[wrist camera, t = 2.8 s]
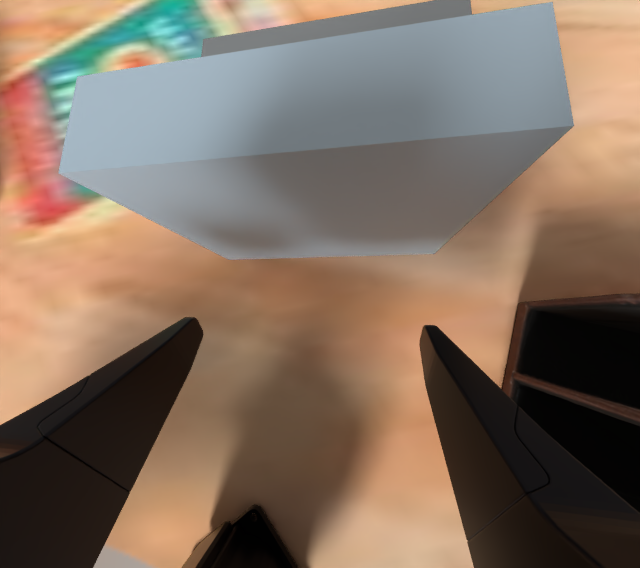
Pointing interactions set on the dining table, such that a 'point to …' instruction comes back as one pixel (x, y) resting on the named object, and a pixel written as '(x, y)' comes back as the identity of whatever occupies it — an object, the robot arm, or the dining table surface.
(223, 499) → the dining table surface
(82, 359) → the dining table surface
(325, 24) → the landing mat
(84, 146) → the blue slab
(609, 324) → the letter holder
